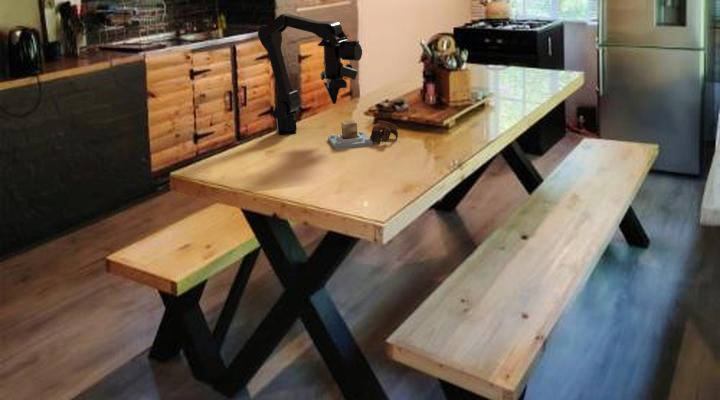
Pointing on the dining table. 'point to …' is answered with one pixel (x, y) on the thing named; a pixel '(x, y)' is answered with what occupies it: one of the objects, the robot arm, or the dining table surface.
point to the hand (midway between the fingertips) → (334, 103)
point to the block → (349, 129)
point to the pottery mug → (383, 132)
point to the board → (349, 141)
